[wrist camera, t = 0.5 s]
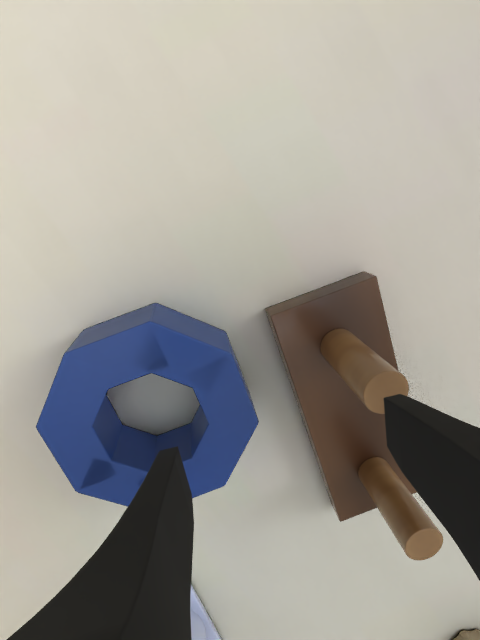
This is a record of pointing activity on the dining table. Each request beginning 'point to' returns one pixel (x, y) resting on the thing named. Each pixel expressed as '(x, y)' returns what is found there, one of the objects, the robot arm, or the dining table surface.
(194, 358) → the ring
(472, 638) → the handle
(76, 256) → the dining table surface
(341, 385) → the rack
